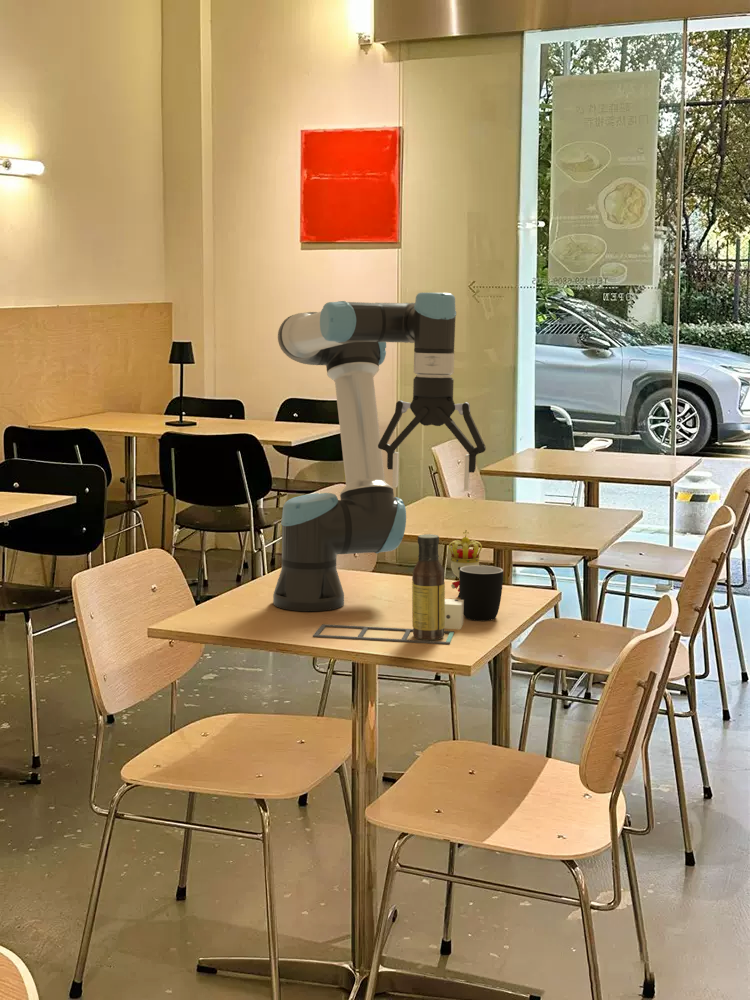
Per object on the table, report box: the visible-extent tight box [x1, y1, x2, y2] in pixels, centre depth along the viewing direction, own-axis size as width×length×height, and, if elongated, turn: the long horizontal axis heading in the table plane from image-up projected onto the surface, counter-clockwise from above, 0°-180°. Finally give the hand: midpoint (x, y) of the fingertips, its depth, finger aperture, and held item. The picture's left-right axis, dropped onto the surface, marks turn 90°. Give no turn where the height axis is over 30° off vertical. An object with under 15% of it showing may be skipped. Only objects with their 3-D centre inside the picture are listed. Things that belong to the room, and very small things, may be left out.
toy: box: [448, 529, 483, 598], centre depth 279 cm, size 7×7×15 cm
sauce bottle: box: [411, 533, 446, 641], centre depth 242 cm, size 6×6×20 cm
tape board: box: [312, 623, 455, 645], centre depth 245 cm, size 9×26×1 cm, turn 81°
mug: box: [458, 564, 504, 622], centre depth 261 cm, size 12×9×10 cm
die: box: [444, 598, 464, 630], centre depth 253 cm, size 5×5×5 cm
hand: (430, 488), depth 240 cm, fingers open, 13 cm apart
